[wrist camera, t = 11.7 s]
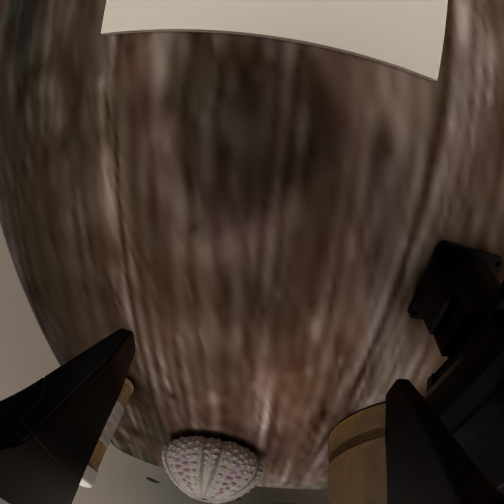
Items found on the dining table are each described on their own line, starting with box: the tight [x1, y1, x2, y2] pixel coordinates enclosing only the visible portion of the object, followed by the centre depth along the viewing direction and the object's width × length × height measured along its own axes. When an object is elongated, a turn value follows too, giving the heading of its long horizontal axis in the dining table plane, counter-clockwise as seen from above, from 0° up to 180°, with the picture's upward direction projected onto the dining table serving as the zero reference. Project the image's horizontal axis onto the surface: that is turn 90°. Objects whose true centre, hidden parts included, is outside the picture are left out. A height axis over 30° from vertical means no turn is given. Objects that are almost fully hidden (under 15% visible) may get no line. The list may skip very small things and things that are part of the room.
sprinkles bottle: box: [79, 377, 134, 488], centre depth 26 cm, size 5×5×13 cm
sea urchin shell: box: [161, 436, 263, 504], centre depth 33 cm, size 13×14×8 cm
